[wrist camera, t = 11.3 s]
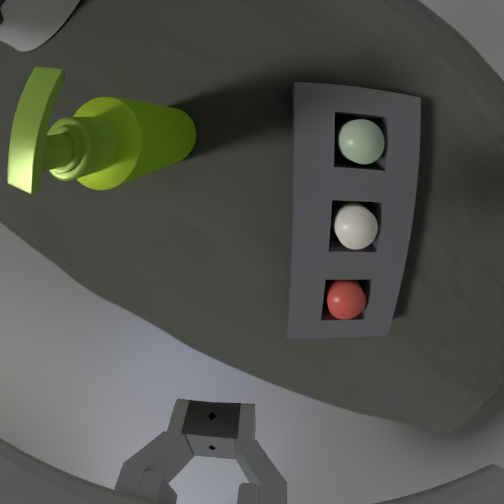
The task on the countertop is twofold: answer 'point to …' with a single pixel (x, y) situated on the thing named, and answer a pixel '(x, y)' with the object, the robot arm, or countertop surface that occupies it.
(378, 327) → the console
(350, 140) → the button sage
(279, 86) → the countertop surface
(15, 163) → the soap dispenser
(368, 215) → the button cream
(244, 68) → the countertop surface
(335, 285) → the button red
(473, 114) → the countertop surface
